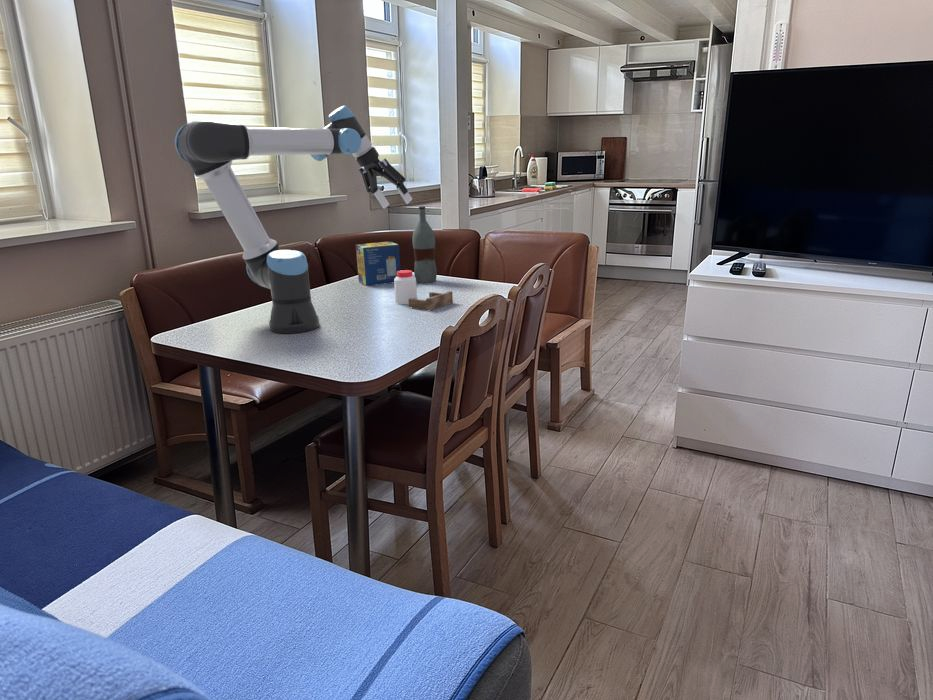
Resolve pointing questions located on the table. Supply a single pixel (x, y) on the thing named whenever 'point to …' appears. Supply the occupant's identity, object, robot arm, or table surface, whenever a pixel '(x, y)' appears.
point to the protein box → (377, 262)
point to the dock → (432, 301)
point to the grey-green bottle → (424, 250)
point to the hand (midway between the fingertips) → (397, 204)
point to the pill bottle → (405, 287)
